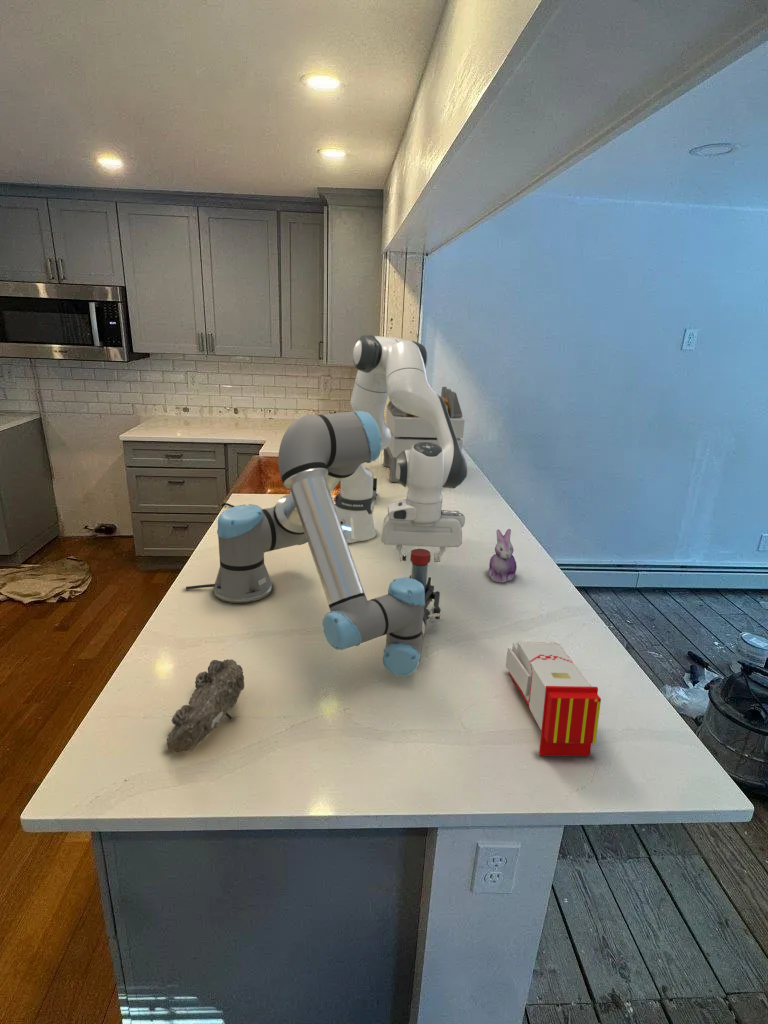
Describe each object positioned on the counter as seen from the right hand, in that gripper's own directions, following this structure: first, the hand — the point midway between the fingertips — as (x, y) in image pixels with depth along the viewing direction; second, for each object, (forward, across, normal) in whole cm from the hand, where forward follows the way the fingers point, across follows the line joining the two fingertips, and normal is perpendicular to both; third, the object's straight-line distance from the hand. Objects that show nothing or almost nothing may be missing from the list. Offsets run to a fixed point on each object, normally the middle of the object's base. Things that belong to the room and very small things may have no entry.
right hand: (419, 560), depth 144 cm
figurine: (+15, -27, -23) cm, 38 cm away
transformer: (+15, -9, -134) cm, 135 cm away
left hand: (+8, -1, -5) cm, 10 cm away
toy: (+15, -24, +36) cm, 46 cm away
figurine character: (+15, +15, -91) cm, 93 cm away
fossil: (+15, +41, +43) cm, 61 cm away
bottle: (+15, 0, 0) cm, 15 cm away
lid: (-2, 0, 0) cm, 2 cm away
